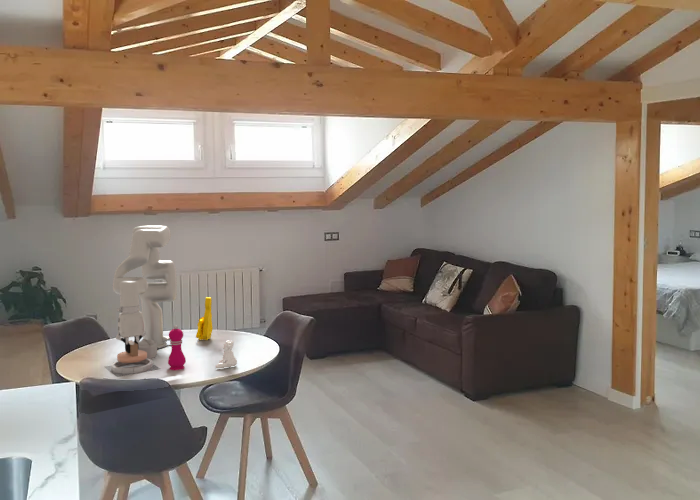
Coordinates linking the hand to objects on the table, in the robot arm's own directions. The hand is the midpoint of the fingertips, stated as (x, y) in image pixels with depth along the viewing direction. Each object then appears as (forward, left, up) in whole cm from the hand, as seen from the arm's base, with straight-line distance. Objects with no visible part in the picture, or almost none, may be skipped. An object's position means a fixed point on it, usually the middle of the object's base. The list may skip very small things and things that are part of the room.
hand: (132, 351), depth 266 cm
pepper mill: (-15, +12, -9) cm, 21 cm away
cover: (0, 0, -3) cm, 3 cm away
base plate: (0, 0, -8) cm, 8 cm away
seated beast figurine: (-35, +19, -9) cm, 41 cm away
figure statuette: (-48, -32, -9) cm, 58 cm away
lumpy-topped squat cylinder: (-11, -15, -9) cm, 21 cm away
